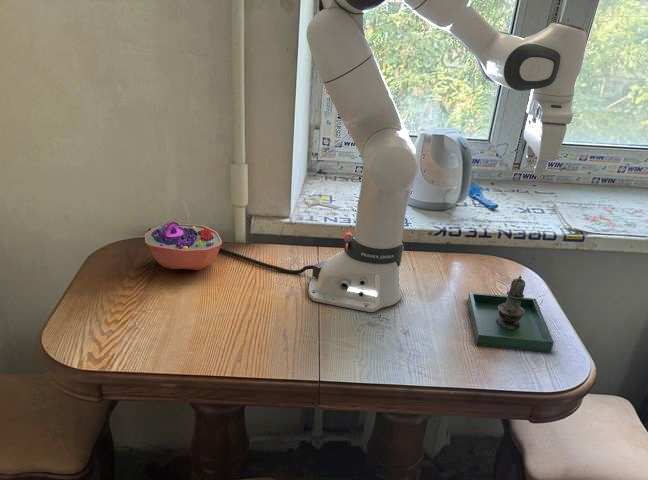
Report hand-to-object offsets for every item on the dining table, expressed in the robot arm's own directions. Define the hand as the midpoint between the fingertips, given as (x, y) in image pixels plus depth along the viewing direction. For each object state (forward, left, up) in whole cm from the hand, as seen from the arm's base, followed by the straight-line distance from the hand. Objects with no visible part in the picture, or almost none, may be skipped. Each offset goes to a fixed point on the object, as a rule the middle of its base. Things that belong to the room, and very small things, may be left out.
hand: (532, 169), depth 139 cm
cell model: (-82, -9, -29) cm, 88 cm away
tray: (-3, -23, -29) cm, 37 cm away
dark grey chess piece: (-3, -23, -29) cm, 37 cm away
